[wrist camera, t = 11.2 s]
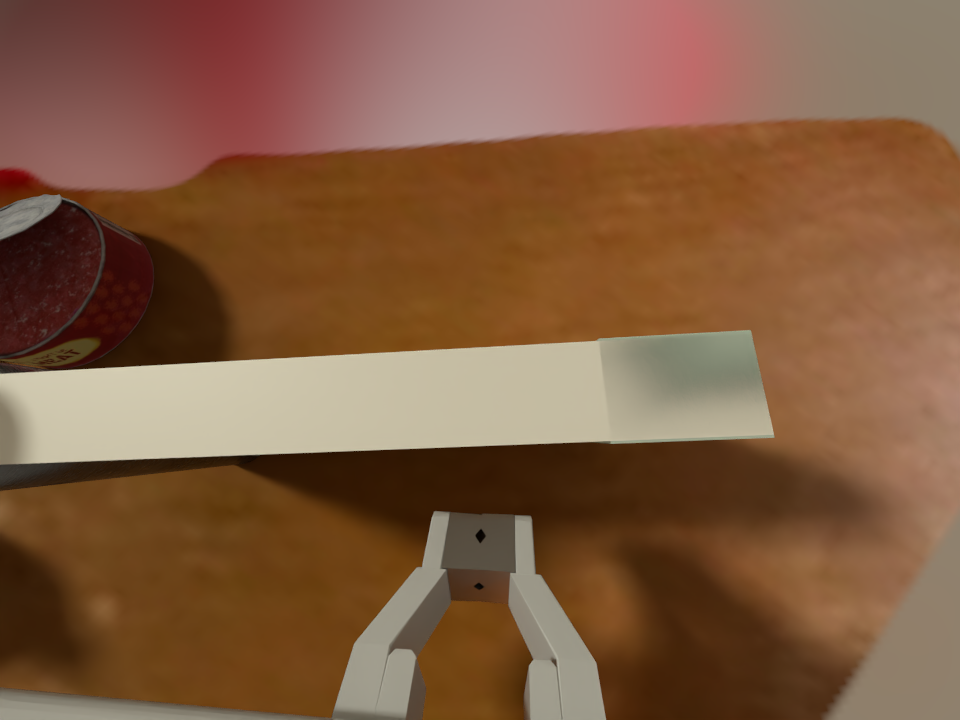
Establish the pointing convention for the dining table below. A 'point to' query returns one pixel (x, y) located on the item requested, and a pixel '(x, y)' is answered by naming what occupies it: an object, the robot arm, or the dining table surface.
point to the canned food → (67, 283)
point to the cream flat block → (392, 401)
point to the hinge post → (98, 463)
